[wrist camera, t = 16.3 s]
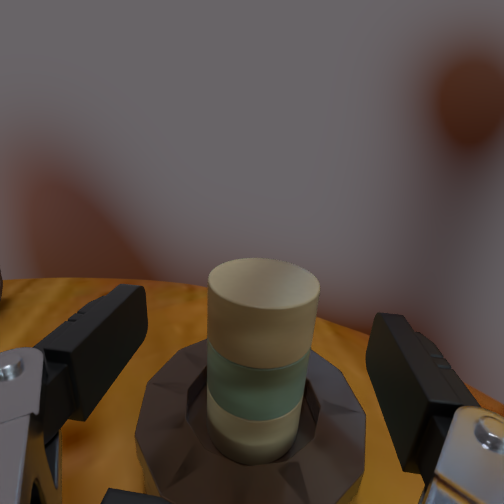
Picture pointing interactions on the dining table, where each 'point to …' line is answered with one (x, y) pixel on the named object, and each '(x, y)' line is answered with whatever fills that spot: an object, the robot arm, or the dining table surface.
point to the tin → (1, 285)
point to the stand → (237, 474)
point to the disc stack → (258, 355)
